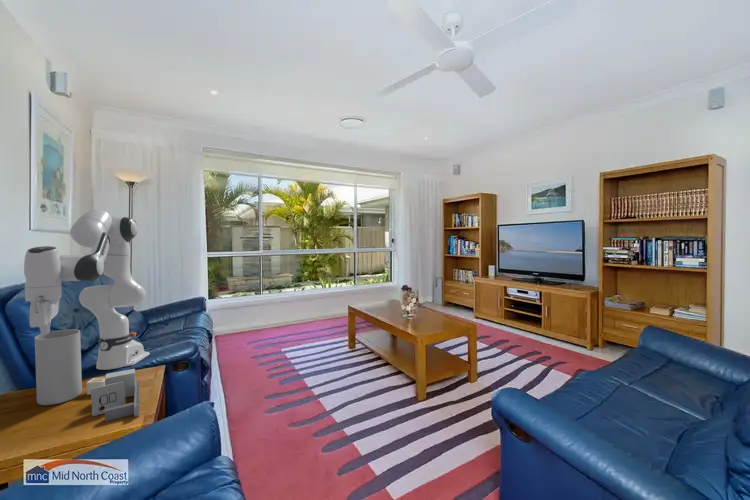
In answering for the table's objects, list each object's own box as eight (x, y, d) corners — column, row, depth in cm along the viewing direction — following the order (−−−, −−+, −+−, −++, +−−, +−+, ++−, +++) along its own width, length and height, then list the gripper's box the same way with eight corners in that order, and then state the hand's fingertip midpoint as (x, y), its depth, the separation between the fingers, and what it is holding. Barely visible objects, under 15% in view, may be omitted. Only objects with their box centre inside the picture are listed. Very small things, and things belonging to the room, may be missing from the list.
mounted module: (106, 396, 127) (105, 373, 126) (135, 390, 132) (134, 368, 132) (105, 401, 123) (104, 378, 122) (135, 395, 128) (134, 372, 128)
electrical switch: (91, 417, 112) (91, 390, 113) (90, 413, 116) (90, 387, 116) (125, 408, 119) (124, 382, 119) (123, 404, 123) (122, 379, 123)
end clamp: (105, 418, 112) (105, 408, 112) (134, 411, 116) (134, 402, 116) (104, 421, 110) (104, 411, 110) (134, 414, 115) (134, 404, 115)
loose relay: (93, 390, 132) (93, 377, 132) (110, 388, 133) (109, 376, 133) (86, 394, 128) (86, 382, 128) (103, 393, 129) (103, 380, 129)
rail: (135, 390, 132) (135, 380, 132) (139, 389, 133) (139, 379, 133) (134, 417, 113) (133, 406, 113) (139, 416, 114) (139, 404, 113)
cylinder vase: (31, 401, 123) (28, 336, 122) (73, 387, 134) (71, 327, 133) (44, 409, 117) (42, 341, 116) (88, 394, 128) (86, 332, 127)
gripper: (49, 298, 104) (51, 340, 105) (62, 289, 121) (63, 325, 122) (21, 300, 101) (23, 344, 101) (38, 290, 117) (39, 328, 118)
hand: (45, 333), depth 112 cm, fingers closed
